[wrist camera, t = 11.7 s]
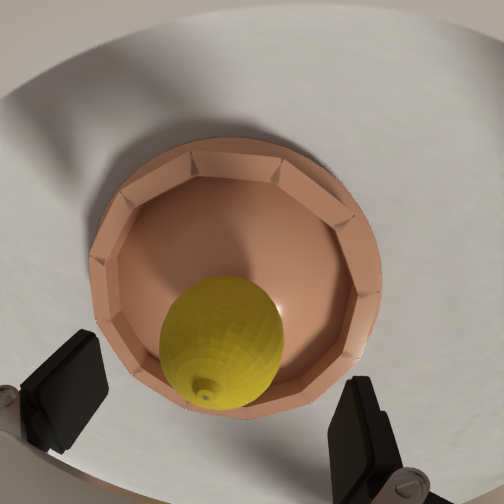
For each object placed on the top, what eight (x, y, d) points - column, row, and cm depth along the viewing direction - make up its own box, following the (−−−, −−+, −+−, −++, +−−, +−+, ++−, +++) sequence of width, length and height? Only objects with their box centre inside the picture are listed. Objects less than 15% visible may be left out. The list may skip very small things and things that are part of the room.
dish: (401, 163, 15) (419, 163, 13) (339, 409, 20) (343, 432, 18) (100, 136, 16) (77, 134, 14) (113, 376, 21) (100, 394, 19)
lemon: (168, 285, 17) (104, 366, 10) (247, 236, 16) (224, 302, 8) (222, 354, 18) (196, 454, 11) (300, 315, 17) (314, 416, 10)
